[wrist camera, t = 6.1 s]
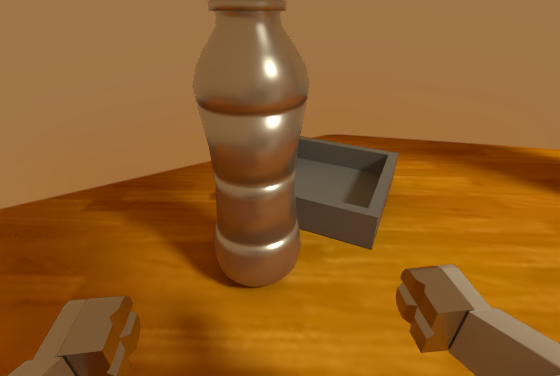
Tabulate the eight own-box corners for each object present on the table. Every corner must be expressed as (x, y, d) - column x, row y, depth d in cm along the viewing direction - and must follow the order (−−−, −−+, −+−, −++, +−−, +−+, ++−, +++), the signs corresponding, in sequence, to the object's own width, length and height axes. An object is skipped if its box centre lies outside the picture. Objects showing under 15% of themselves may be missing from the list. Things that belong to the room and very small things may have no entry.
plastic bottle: (212, 249, 26) (169, -29, 16) (285, 234, 28) (288, -26, 18) (225, 309, 21) (172, -45, 11) (312, 285, 23) (340, -38, 13)
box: (392, 178, 37) (398, 153, 36) (371, 249, 26) (378, 217, 25) (289, 157, 42) (290, 134, 41) (236, 210, 32) (234, 181, 30)
